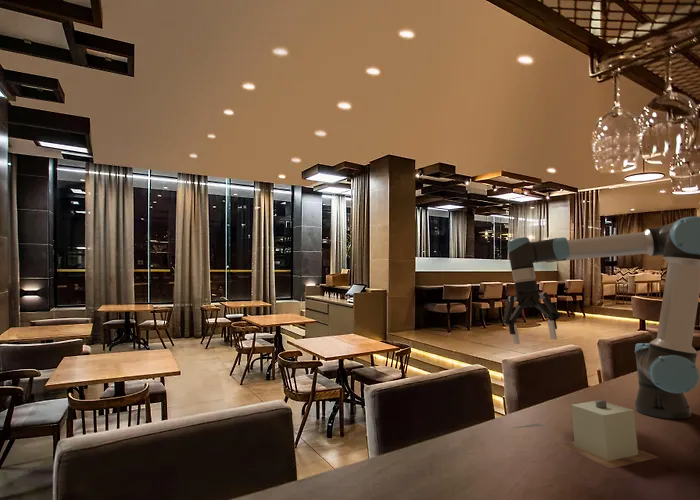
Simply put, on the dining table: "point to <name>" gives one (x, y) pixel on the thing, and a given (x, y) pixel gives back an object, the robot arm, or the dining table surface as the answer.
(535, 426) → the coaster
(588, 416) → the knobbed cream cube
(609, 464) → the board
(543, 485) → the dining table surface
